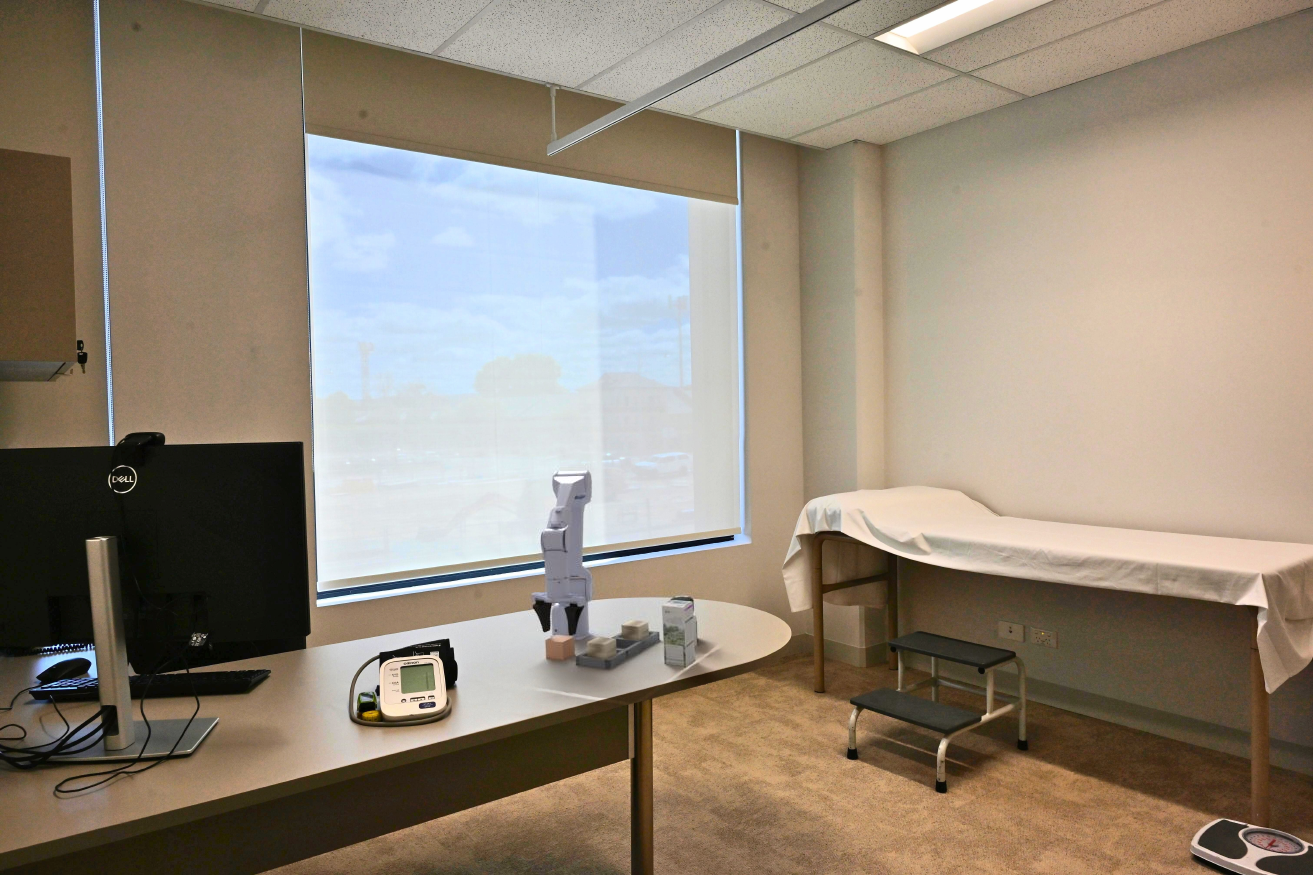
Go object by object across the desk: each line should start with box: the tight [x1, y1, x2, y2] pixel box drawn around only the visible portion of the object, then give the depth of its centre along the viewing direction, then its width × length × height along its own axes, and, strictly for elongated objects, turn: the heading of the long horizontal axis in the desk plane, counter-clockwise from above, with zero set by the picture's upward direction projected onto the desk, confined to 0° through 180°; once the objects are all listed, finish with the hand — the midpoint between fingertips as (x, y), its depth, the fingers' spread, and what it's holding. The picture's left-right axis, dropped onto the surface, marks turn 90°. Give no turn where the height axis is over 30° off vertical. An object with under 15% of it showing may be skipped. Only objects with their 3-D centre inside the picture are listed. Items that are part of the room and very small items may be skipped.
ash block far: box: [621, 619, 650, 640], centre depth 207 cm, size 5×5×5 cm
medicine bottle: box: [670, 595, 699, 647], centre depth 206 cm, size 7×7×12 cm
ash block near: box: [586, 636, 617, 659], centre depth 193 cm, size 5×5×5 cm
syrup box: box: [661, 599, 696, 669], centre depth 191 cm, size 6×6×14 cm
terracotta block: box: [544, 635, 576, 661], centre depth 199 cm, size 5×5×5 cm
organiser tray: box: [575, 630, 660, 671], centre depth 200 cm, size 9×25×3 cm, turn 152°
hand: (559, 632), depth 198 cm, fingers open, 7 cm apart
